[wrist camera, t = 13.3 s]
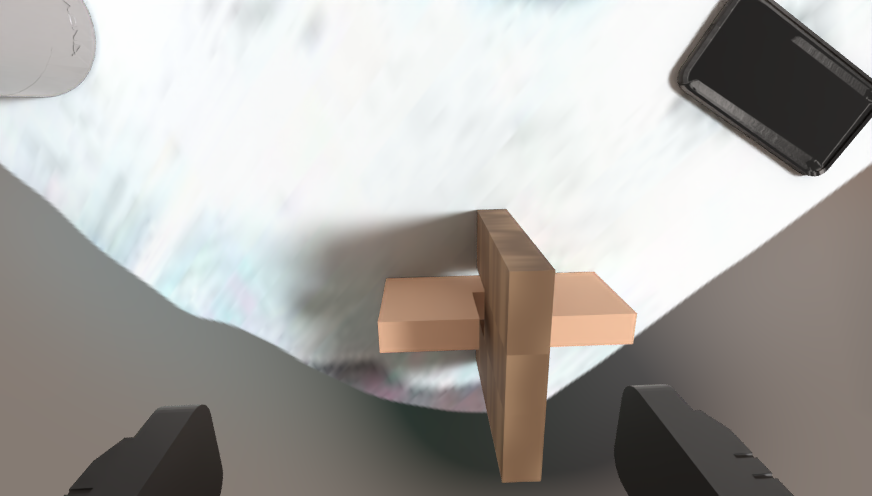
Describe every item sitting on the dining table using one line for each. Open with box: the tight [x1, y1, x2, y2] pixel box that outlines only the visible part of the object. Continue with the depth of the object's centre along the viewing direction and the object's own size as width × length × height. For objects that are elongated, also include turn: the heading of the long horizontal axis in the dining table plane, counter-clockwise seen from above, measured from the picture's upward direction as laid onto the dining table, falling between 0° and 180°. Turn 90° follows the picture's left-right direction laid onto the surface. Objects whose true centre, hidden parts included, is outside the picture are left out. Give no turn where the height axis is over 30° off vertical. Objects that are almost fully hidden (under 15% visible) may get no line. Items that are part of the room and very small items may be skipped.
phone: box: [678, 0, 872, 176], centre depth 34 cm, size 8×1×15 cm
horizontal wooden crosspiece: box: [378, 272, 637, 353], centre depth 35 cm, size 18×2×8 cm, turn 91°
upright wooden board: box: [476, 209, 555, 483], centre depth 32 cm, size 2×14×14 cm, turn 1°
